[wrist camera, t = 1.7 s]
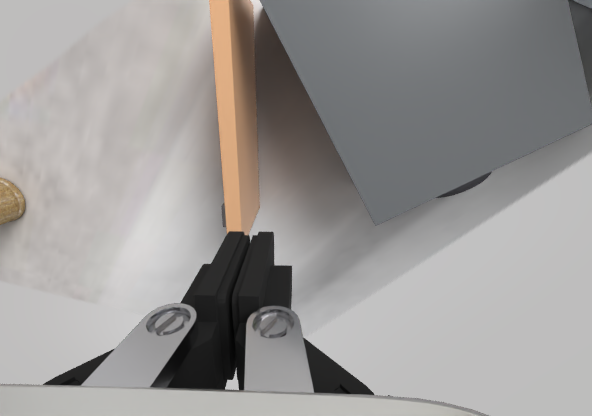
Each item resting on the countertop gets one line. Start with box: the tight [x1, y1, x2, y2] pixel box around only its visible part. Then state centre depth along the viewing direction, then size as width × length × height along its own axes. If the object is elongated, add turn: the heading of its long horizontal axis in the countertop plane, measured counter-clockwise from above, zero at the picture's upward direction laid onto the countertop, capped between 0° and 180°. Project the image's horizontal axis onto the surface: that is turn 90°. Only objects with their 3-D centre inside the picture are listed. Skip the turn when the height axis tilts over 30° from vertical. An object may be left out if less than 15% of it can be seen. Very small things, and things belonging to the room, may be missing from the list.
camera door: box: [209, 0, 260, 235], centre depth 22 cm, size 2×16×8 cm, turn 179°
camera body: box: [260, 0, 592, 226], centre depth 20 cm, size 13×17×10 cm
